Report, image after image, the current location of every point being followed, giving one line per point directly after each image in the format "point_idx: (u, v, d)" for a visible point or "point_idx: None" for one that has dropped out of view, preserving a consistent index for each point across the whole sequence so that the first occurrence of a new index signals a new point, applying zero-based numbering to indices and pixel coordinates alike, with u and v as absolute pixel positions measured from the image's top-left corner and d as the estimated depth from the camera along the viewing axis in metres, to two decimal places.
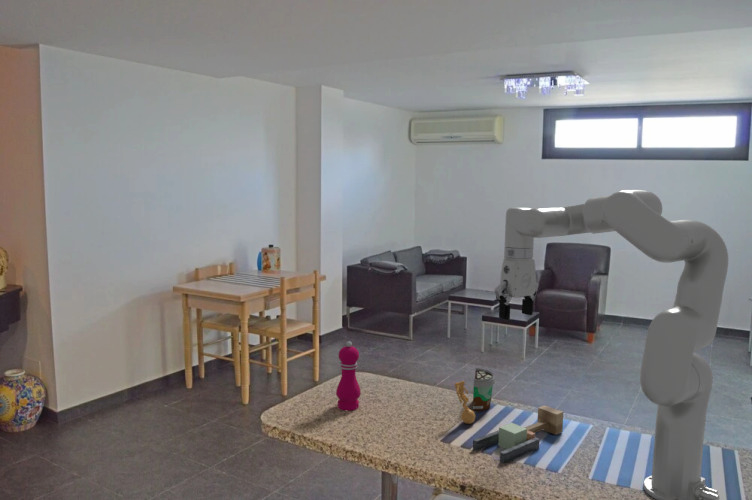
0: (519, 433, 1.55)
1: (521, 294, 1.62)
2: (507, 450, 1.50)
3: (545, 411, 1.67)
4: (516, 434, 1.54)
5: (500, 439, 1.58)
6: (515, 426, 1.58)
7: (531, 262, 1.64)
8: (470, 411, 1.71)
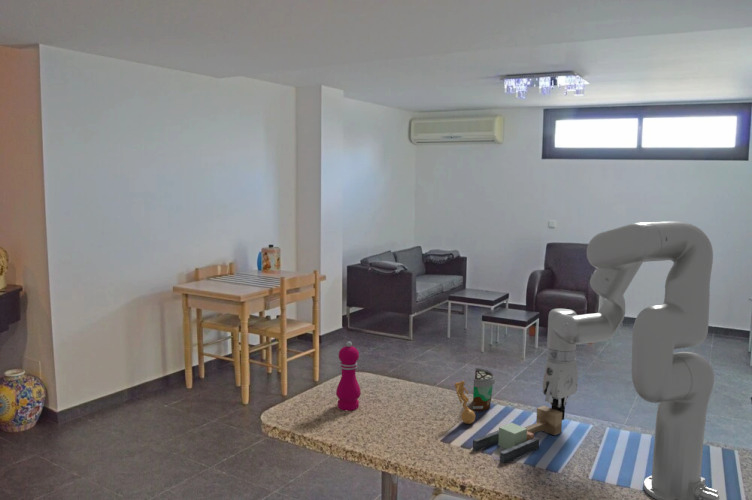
0: (519, 433, 1.55)
1: (564, 395, 1.66)
2: (507, 450, 1.50)
3: (544, 411, 1.66)
4: (516, 434, 1.54)
5: (500, 439, 1.58)
6: (515, 426, 1.58)
7: (573, 362, 1.67)
8: (470, 411, 1.71)
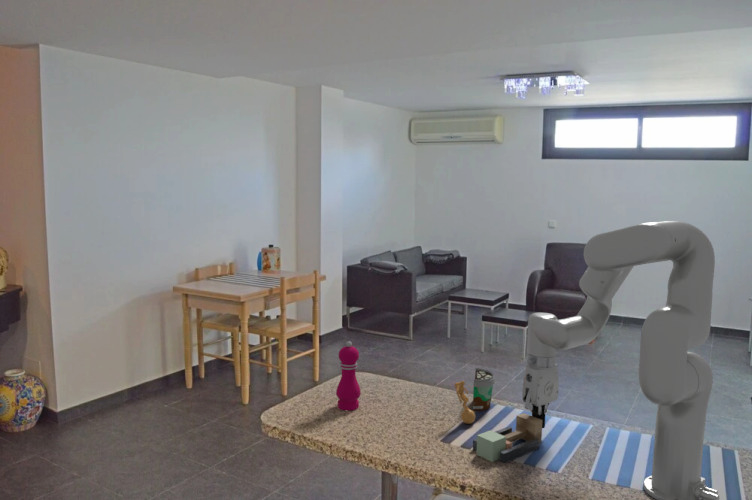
0: (497, 441, 1.50)
1: (544, 402, 1.60)
2: (507, 450, 1.50)
3: (523, 419, 1.61)
4: (494, 442, 1.49)
5: (478, 447, 1.52)
6: (494, 434, 1.53)
7: (554, 368, 1.62)
8: (470, 411, 1.71)
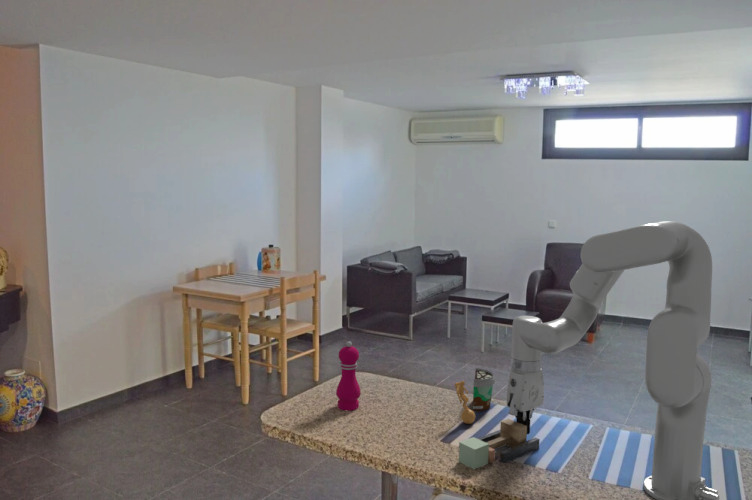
0: (480, 449, 1.46)
1: (529, 408, 1.56)
2: (507, 450, 1.50)
3: (508, 425, 1.57)
4: (476, 450, 1.45)
5: (460, 455, 1.48)
6: (476, 441, 1.49)
7: (539, 373, 1.58)
8: (470, 411, 1.71)
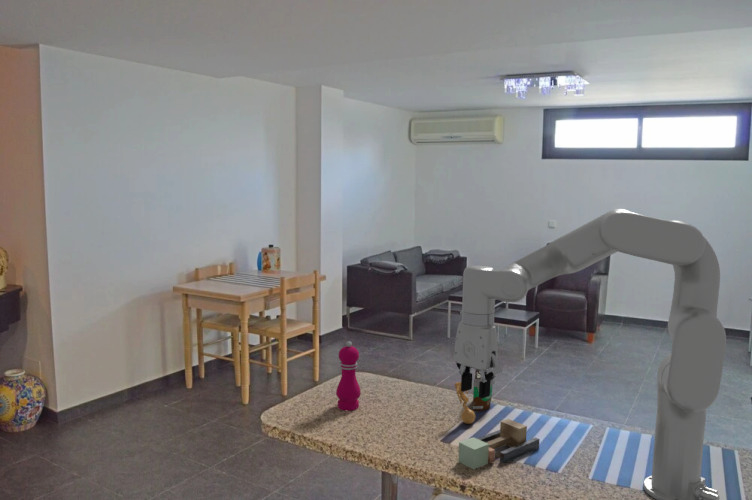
0: (480, 449, 1.46)
1: (463, 362, 1.45)
2: (507, 450, 1.50)
3: (507, 425, 1.57)
4: (476, 450, 1.45)
5: (460, 455, 1.48)
6: (476, 441, 1.49)
7: (477, 331, 1.41)
8: (470, 411, 1.71)
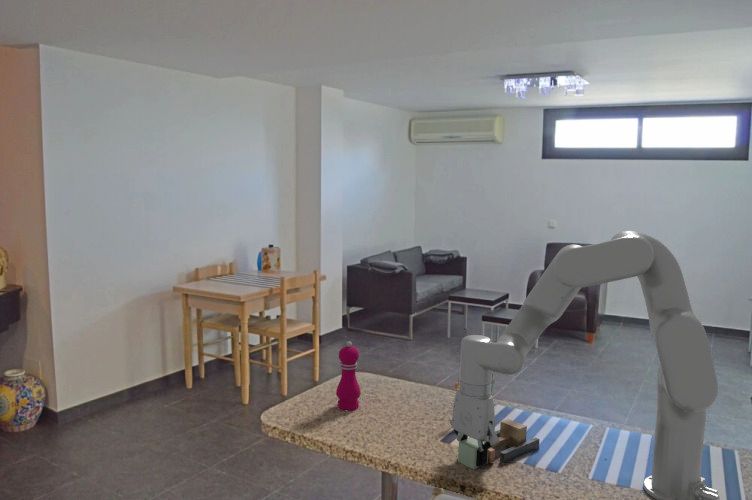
0: None
1: (460, 430, 1.47)
2: (507, 450, 1.50)
3: (507, 425, 1.57)
4: (476, 449, 1.45)
5: (460, 454, 1.48)
6: (476, 441, 1.49)
7: (474, 401, 1.43)
8: None
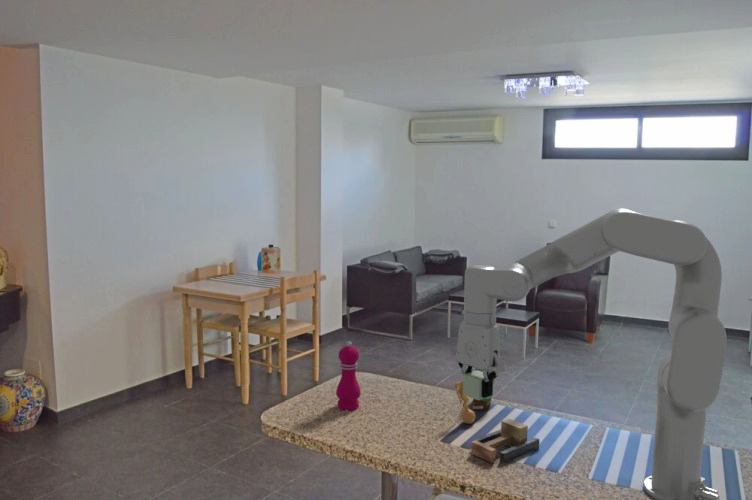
0: None
1: (465, 361, 1.45)
2: (507, 450, 1.50)
3: (508, 425, 1.57)
4: (481, 380, 1.43)
5: (465, 387, 1.46)
6: (481, 373, 1.47)
7: (479, 330, 1.41)
8: (470, 411, 1.71)
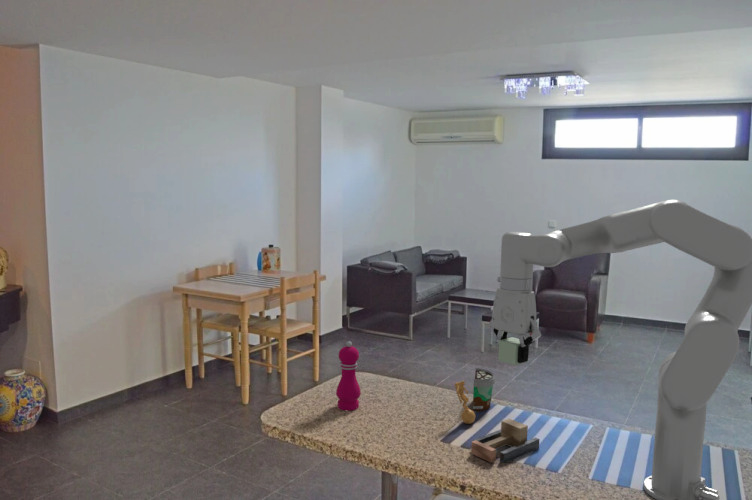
0: None
1: (501, 327, 1.46)
2: (507, 450, 1.50)
3: (508, 425, 1.57)
4: (517, 345, 1.44)
5: (500, 353, 1.48)
6: (516, 340, 1.48)
7: (516, 295, 1.43)
8: (470, 411, 1.71)
